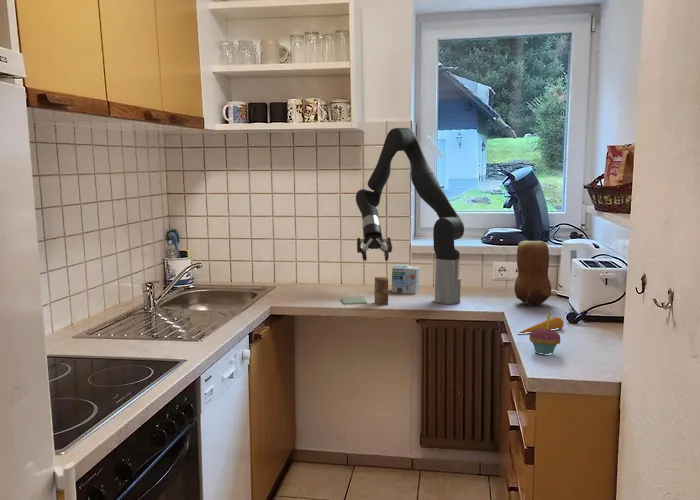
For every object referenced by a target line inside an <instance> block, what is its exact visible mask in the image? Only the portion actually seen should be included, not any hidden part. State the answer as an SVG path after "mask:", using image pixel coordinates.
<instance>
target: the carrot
mask: <svg viewBox="0 0 700 500" xmlns="http://www.w3.org/2000/svg"><path fill="white" fill-rule="evenodd" d="M546 324H547V319H546V320H544V321H542V322H539V323H537V324H534V325H533V326H530V327H527V328H525V329H524V330H521V331H520V332H518V333H525V332H533V331H534V330H536V329H538V328H544V329H545V328H546ZM563 327H564V321H563V319H562V318H561V317H559V316H553V317H550V319H549V328H548V329H556V328H561V329H562V328H563Z"/></svg>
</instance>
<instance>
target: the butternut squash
mask: <svg viewBox="0 0 700 500" xmlns="http://www.w3.org/2000/svg"><path fill="white" fill-rule="evenodd" d="M516 266H517V272H518V273H517V276H516V278H515V281H514V294H515V297H516V299H518V300H520V301H521V302H522V303H524V304H525V305H529V304H531V305H530V306H532V305H537V306H540V305H542V304H544V303H545V302H546V301H548V300H549V298H550V296H551V295H552V283H551V281H550V277H549V266H550V252H549V247H548V244H547V243H546V241H545V242H544V241H543V240H522V241H520V242H518V245H517V249H516Z"/></svg>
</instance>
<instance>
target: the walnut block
mask: <svg viewBox="0 0 700 500" xmlns="http://www.w3.org/2000/svg"><path fill="white" fill-rule="evenodd" d="M374 304H375V305H376V306H388V305H389V278H388V277H386V276H377V277H376V276H375V277H374Z"/></svg>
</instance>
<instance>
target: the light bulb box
mask: <svg viewBox="0 0 700 500" xmlns="http://www.w3.org/2000/svg"><path fill="white" fill-rule="evenodd" d="M391 270H392V271H391V293H396V294H399V293H400V294H410V295H416V294H417V293H419V292H420V266H418V265H402V264H401V265H400V264H399V265H394V266H392V268H391Z"/></svg>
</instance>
